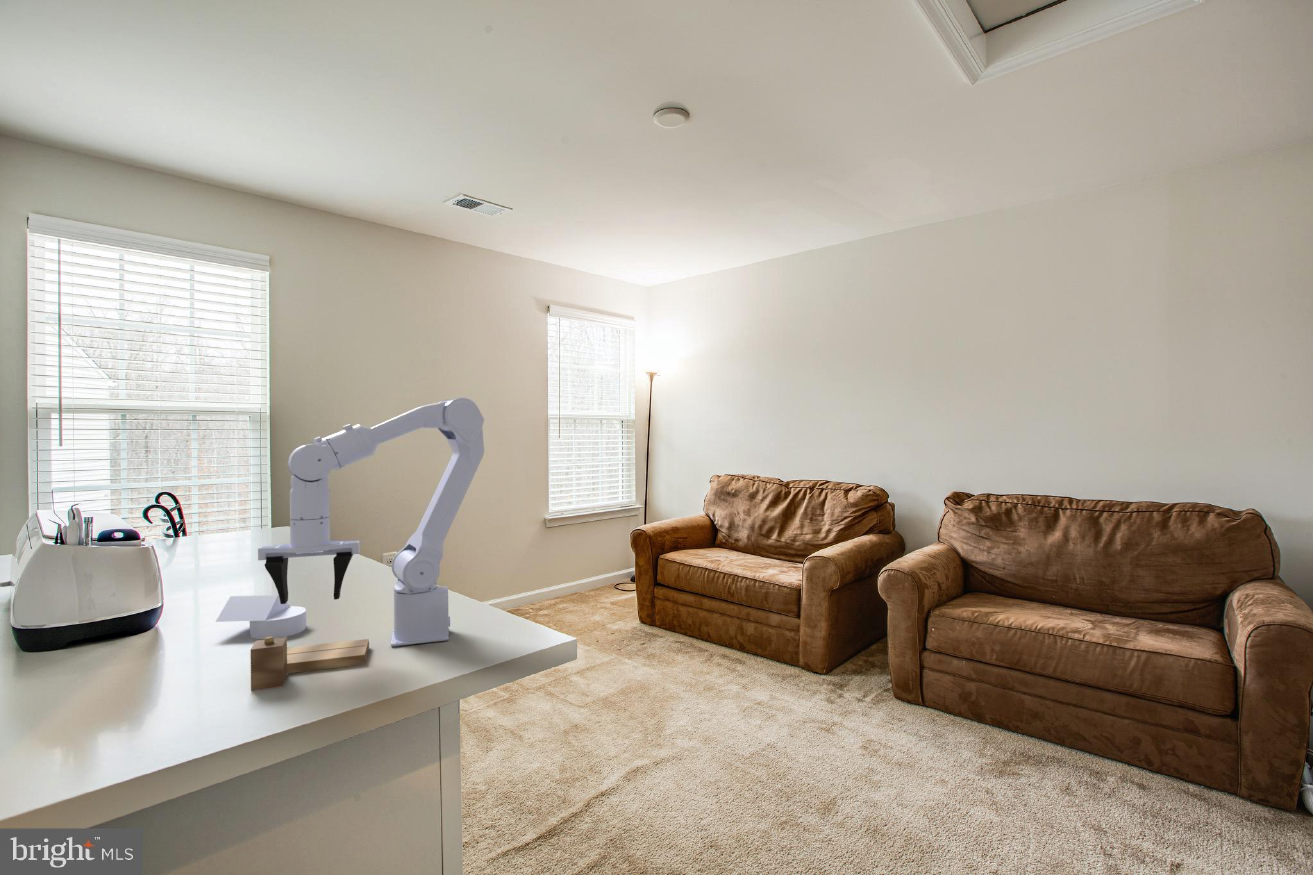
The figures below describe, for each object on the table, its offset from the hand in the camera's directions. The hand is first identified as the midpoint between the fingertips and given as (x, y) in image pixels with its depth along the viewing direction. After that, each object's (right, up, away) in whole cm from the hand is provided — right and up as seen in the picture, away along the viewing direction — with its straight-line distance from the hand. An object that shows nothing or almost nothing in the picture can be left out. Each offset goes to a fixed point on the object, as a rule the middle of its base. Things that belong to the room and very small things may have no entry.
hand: (310, 600), depth 103 cm
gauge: (-1, -10, -8) cm, 13 cm away
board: (+2, -9, -2) cm, 10 cm away
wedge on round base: (-16, -10, +13) cm, 23 cm away
